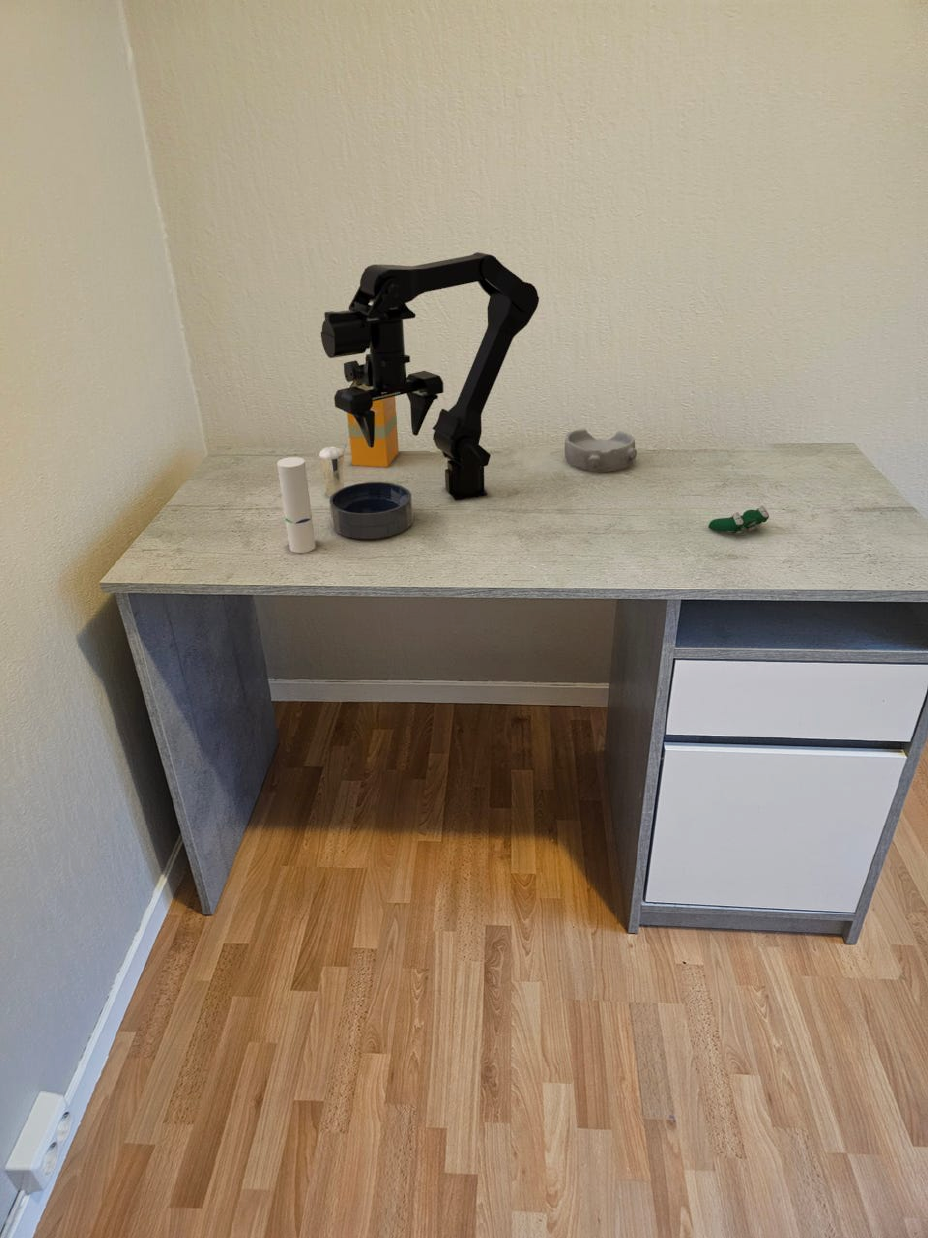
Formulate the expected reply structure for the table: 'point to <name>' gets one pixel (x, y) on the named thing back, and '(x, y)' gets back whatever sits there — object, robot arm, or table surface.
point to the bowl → (371, 510)
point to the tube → (296, 504)
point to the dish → (599, 451)
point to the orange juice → (384, 434)
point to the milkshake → (332, 468)
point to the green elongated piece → (740, 521)
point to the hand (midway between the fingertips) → (393, 440)
